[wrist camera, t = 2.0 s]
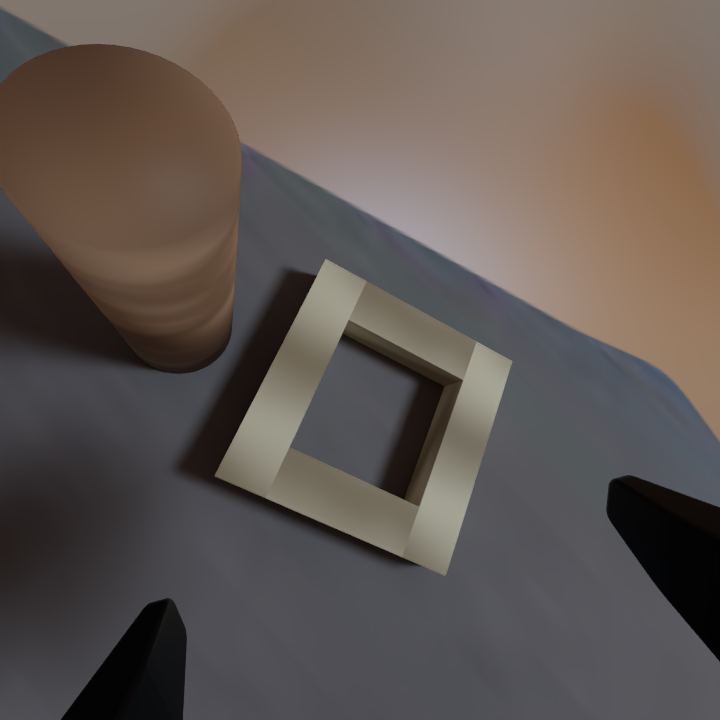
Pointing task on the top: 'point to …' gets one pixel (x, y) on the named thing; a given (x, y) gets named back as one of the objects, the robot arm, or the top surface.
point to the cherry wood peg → (130, 192)
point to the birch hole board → (441, 447)
